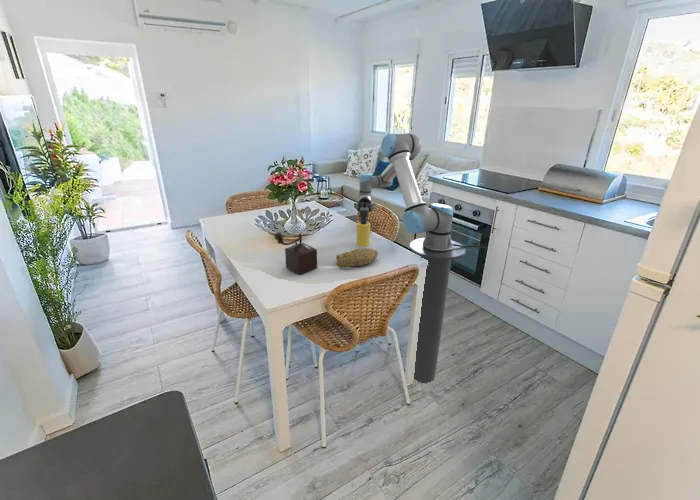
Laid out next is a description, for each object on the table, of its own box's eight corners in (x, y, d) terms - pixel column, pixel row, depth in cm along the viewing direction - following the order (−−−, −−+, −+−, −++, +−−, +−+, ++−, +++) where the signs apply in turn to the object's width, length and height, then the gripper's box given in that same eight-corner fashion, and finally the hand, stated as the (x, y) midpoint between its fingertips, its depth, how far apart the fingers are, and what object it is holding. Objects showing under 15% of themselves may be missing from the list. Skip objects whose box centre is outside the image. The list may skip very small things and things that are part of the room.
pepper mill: (302, 260, 164) (301, 224, 157) (317, 267, 157) (317, 230, 150) (275, 270, 154) (271, 232, 147) (289, 279, 147) (287, 239, 140)
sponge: (339, 273, 156) (383, 263, 157) (336, 257, 154) (379, 246, 155) (337, 265, 168) (377, 256, 169) (334, 250, 166) (374, 240, 168)
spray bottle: (369, 242, 189) (371, 207, 182) (369, 247, 182) (371, 211, 174) (356, 241, 189) (357, 206, 182) (356, 247, 182) (357, 210, 175)
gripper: (375, 208, 212) (375, 220, 190) (354, 208, 213) (352, 219, 191) (375, 196, 209) (376, 206, 187) (354, 196, 210) (352, 206, 188)
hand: (364, 213), depth 189 cm, fingers closed
